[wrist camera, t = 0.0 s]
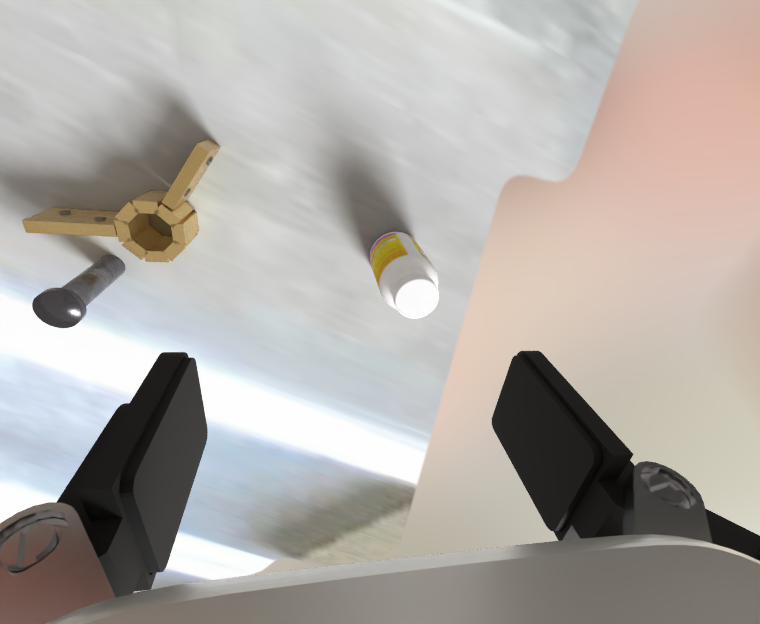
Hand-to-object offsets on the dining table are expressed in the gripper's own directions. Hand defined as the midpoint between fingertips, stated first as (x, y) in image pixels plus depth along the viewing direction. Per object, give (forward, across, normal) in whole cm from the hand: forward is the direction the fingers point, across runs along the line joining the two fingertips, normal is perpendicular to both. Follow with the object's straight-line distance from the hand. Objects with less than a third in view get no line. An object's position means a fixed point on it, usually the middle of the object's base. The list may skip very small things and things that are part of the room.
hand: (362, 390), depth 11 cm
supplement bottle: (+37, -9, +9) cm, 39 cm away
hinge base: (+37, +22, +6) cm, 43 cm away
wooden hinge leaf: (+37, +14, 0) cm, 39 cm away
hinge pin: (+37, +25, +12) cm, 46 cm away
